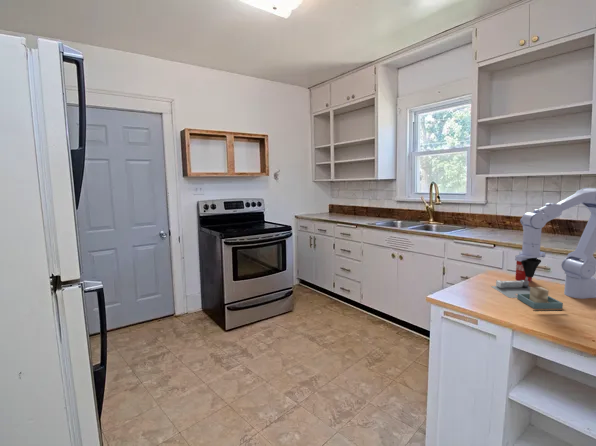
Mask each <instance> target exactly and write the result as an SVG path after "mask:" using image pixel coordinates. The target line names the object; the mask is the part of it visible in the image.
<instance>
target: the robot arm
mask: <svg viewBox="0 0 596 446" xmlns="http://www.w3.org/2000/svg"><path fill="white" fill-rule="evenodd" d="M580 204H582V205H583V206H584V207H585V208H587V210H589V212H590V216H589V219H588V221H587V223H586V225H585V227H584V229H583V231H582V234H581V236H580V239H579V241H578V243H577V246H576V248H575V250H573V251H570V252H568V254H567V256H566V257H565V258H564V259H563V260H562V261H561V265H560V266H561V269H562V270H563V272H564V274H565V277H564V278H565V280H564V291H563V294H564V296H567V297H569V298H573V299H574V298H575V299H584V300H585V299H596V278H595V277H594V275H595V274H596V258H595V256H594V253H595V251H596V187H583V188H581V189H577V190H576V192H575V193H574V194H572V195H570V196H568V197H566V198H564V199H562V200H560V201H558V202H557V203H555V202H546V203H545V204H544V206H542V207H540V208H538V209H537V208H535V209H534V210H533V212H532V211H531V212H530V211H528V212H525V213H524V214H523V215H522V217H521V218H520V219H519V220H520V221H519V222H520V224H521V226H522V230H523V231H522V232H523V233H522V249H521V251H520V252H519V254H518V255H515V259H514V260H515V261H516V262H517V261H520V262H521V263H522V265H523V268H524V271H525V275H526V276H527V277H532V278H533V277H534V275H535V274H536V271H537V268H538V267H539V265H540V264H541V262H542V259H540V258H546V254H547V253H546V252H544V251H541V244H542V243H541V240H542V230H543V229H542V228H544V227H545V226H546V224H547V223H548V222H550V221H552V220H554V219H556V218H558V217H561V216H562V213H563V211H566V210H569V209H571V208H573V207H575V206H578V205H580Z"/></svg>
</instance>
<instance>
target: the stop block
mask: <svg viewBox="0 0 596 446" xmlns="http://www.w3.org/2000/svg"><path fill="white" fill-rule="evenodd" d="M548 296H549V289H547V288H544V287H542V286H530V299H529V300H531V301H533V302H535V303H549V302H548Z"/></svg>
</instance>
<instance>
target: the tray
mask: <svg viewBox="0 0 596 446" xmlns="http://www.w3.org/2000/svg"><path fill="white" fill-rule="evenodd" d="M516 299H517V300H519V301H520V302H521V303H524V304H526V305H528V307H531V308H532V309H533V310H532V311H533V312H563V310H562V309H563V307H564V303H563V302H561V301H559V300H557V299H556V298H553V297H551V296H550V295H548V303H535V302H533V301H531V300H529V299H530V294H518V295H517V298H516ZM536 309H537V310H536ZM538 309H539V310H538ZM541 309H542V310H541ZM552 309H553V310H552Z"/></svg>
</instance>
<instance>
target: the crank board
mask: <svg viewBox="0 0 596 446" xmlns="http://www.w3.org/2000/svg"><path fill="white" fill-rule="evenodd" d="M490 287H491V288H493V289H494V290H496V291H497V292H499V293H501V294H502V295H504V296H506V297H507V298H509V299H517V295H518V294H530V287H531V286H528V288H499V287H497V286H496V285H492V286H491V285H490Z"/></svg>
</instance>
